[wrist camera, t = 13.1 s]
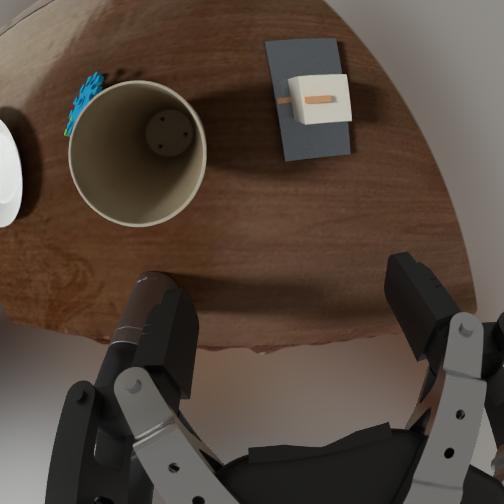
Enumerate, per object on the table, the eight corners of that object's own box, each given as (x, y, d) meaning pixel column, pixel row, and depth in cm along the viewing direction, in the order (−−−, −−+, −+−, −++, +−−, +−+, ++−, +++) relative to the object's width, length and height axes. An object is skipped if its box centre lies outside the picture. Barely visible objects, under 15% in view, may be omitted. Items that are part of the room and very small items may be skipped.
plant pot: (199, 192, 41) (177, 246, 28) (115, 162, 38) (60, 201, 24) (238, 103, 34) (233, 109, 21) (144, 73, 30) (89, 67, 17)
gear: (96, 60, 27) (96, 92, 24) (125, 72, 32) (132, 106, 29) (62, 113, 32) (60, 153, 29) (90, 121, 37) (92, 160, 34)
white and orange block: (329, 76, 30) (349, 74, 24) (334, 116, 34) (354, 121, 28) (287, 79, 31) (299, 75, 25) (294, 119, 34) (306, 125, 28)
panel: (347, 151, 38) (361, 162, 33) (284, 159, 39) (290, 170, 34) (332, 40, 28) (346, 32, 23) (264, 43, 29) (267, 35, 24)
